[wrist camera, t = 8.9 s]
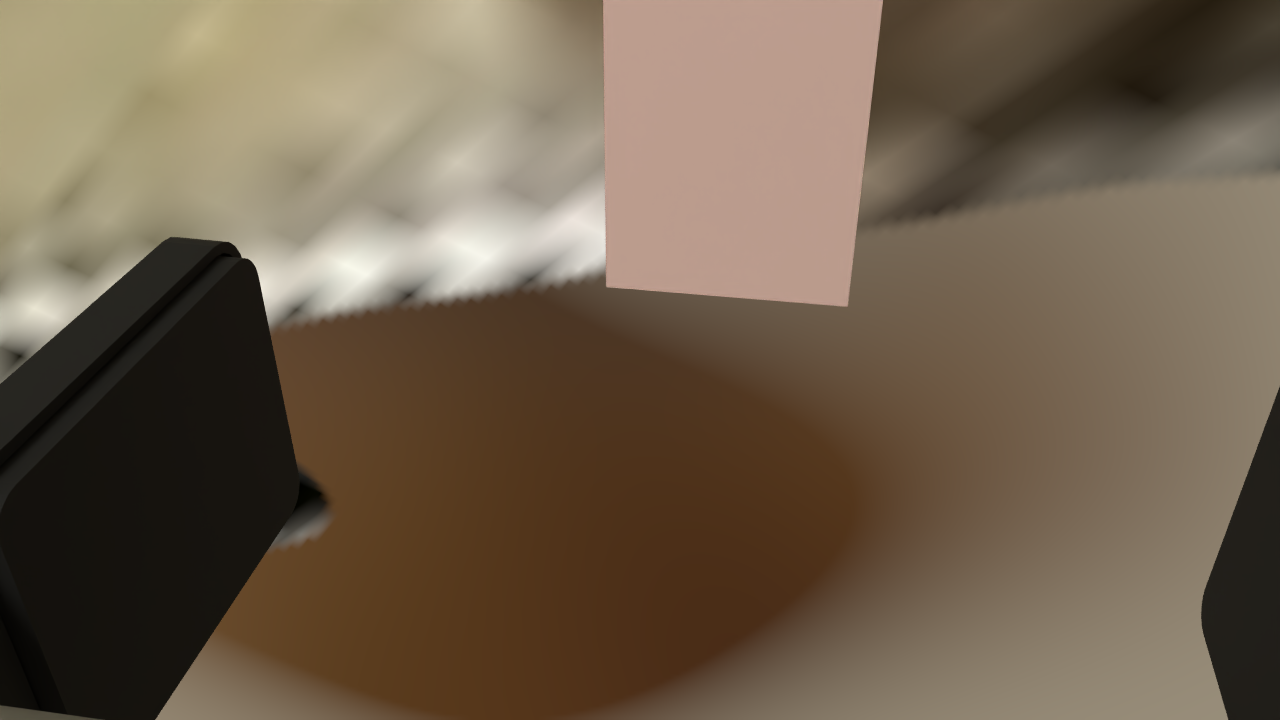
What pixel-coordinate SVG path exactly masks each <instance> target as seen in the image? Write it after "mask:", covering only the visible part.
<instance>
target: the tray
mask: <svg viewBox="0 0 1280 720" xmlns="http://www.w3.org/2000/svg"><path fill="white" fill-rule="evenodd" d="M882 5H883V0H603V36H604V126H605V216H606V287H614V288H626V289H638V290H651V291H662V292H675V293H687V294H699V295H712V296H723V297H735V298H748V299H761V300H772V301H785V302H797V303H808V304H821V305H833V306H845V307H847V306H848V299H849V290H850V282H851V273H852V264H853V256H854V246H855V238H856V230H857V221H858V213H859V204H860V195H861V187H862V178H863V169H864V161H865V152H866V143H867V135H868V126H869V117H870V109H871V100H872V91H873V83H874V74H875V65H876V57H877V48H878V39H879V31H880V22H881V13H882Z"/></svg>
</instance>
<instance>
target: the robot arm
mask: <svg viewBox="0 0 1280 720" xmlns="http://www.w3.org/2000/svg"><path fill="white" fill-rule="evenodd" d="M298 493H299V474H298V469H297V464H296V459H295V454H294V449H293V444H292V439H291V434H290V429H289V425H288V420H287V415H286V410H285V405H284V400H283V395H282V390H281V385H280V380H279V376H278V370H277V365H276V361H275V356H274V351H273V346H272V341H271V336H270V331H269V326H268V321H267V316H266V311H265V306H264V301H263V297H262V292H261V287H260V282H259V277H258V273H257V270H256V267H255V266H254V264H253V263H252V261H250V260H249V259H245V258H242V257H241V254H240V253H239V251H238V250H237V248H236V247H235V246H234V245H233V244H231V243H229V242H222V241H212V240H201V239H190V238H180V237H170V238H168V239H167V240H165V241H163V242H162V243H161V244H160V245H159V246H157V247H156V248H155V249H154V250H153V251H152V252H151V253H149V254H148V255H147V256H146V257H145V258H144V259H143V260H141V261H140V262H139V263H138V264H137V265H136V266H135V267H133V268H132V269H131V270H130V271H129V272H128V273H127V274H125V275H124V276H123V277H122V278H121V279H120V280H119V281H117V282H116V283H115V284H114V285H113V286H112V287H111V288H109V289H108V290H107V291H106V292H105V293H104V294H103V295H101V296H100V297H99V298H98V299H97V300H96V301H95V302H93V303H92V304H91V305H90V306H89V307H88V308H87V309H85V310H84V311H83V312H82V313H81V314H80V315H79V316H77V317H76V318H75V319H74V320H73V321H72V322H71V323H70V324H68V325H67V326H66V327H65V328H64V329H63V330H62V331H60V332H59V333H58V334H57V335H56V336H55V337H54V338H52V339H51V340H50V341H49V342H48V343H47V344H46V345H44V346H43V347H42V348H41V349H40V350H39V351H38V352H36V353H35V354H34V355H33V356H32V357H31V358H30V359H28V360H27V361H26V362H25V363H24V364H23V365H22V366H20V367H19V368H18V369H17V370H16V371H15V372H14V373H12V374H11V375H10V376H9V377H8V378H7V379H6V380H4V381H3V382H2V383H1V384H0V720H155V719H156V718H157V716H158V715H159V713H160V711H161V710H162V709H163V707H164V706H165V704H166V703H167V701H168V700H169V698H170V696H171V695H172V693H173V692H174V690H175V689H176V687H177V686H178V684H179V683H180V681H181V680H182V678H183V677H184V675H185V674H186V672H187V671H188V669H189V668H190V666H191V665H192V663H193V662H194V660H195V659H196V657H197V656H198V654H199V653H200V651H201V650H202V648H203V647H204V645H205V644H206V642H207V641H208V639H209V638H210V636H211V635H212V633H213V632H214V630H215V629H216V627H217V626H218V624H219V623H220V621H221V620H222V618H223V616H224V615H225V614H226V612H227V611H228V609H229V608H230V606H231V604H232V603H233V601H234V600H235V598H236V597H237V595H238V594H239V592H240V591H241V589H242V588H243V586H244V585H245V583H246V582H247V580H248V579H249V577H250V576H251V574H252V573H253V571H254V570H255V568H256V567H257V565H258V564H259V562H260V561H261V559H262V558H263V556H264V555H265V553H266V552H267V550H268V549H269V547H270V546H271V544H272V543H273V541H274V540H275V538H276V537H277V535H278V534H279V532H280V531H281V529H282V528H283V526H284V525H285V523H286V522H287V520H288V519H289V517H290V515H291V514H292V512H293V510H294V508H295V505H296V502H297V498H298ZM1201 619H1202V629H1203V634H1204V637H1205V641H1206V644H1207V648H1208V651H1209V655H1210V658H1211V661H1212V665H1213V668H1214V672H1215V675H1216V679H1217V682H1218V685H1219V689H1220V692H1221V696H1222V699H1223V703H1224V706H1225V709H1226V713H1227V716H1228V720H1280V388H1279V390H1278V393H1277V396H1276V399H1275V401H1274V404H1273V406H1272V409H1271V412H1270V415H1269V417H1268V420H1267V423H1266V425H1265V428H1264V431H1263V433H1262V437H1261V439H1260V442H1259V444H1258V447H1257V450H1256V453H1255V455H1254V458H1253V461H1252V463H1251V466H1250V469H1249V472H1248V474H1247V477H1246V480H1245V482H1244V485H1243V488H1242V490H1241V493H1240V496H1239V498H1238V501H1237V504H1236V507H1235V510H1234V512H1233V515H1232V517H1231V520H1230V523H1229V526H1228V529H1227V531H1226V534H1225V537H1224V539H1223V542H1222V545H1221V547H1220V550H1219V553H1218V555H1217V558H1216V561H1215V563H1214V566H1213V569H1212V572H1211V574H1210V577H1209V580H1208V582H1207V585H1206V588H1205V591H1204V595H1203V601H1202V612H1201Z"/></svg>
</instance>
